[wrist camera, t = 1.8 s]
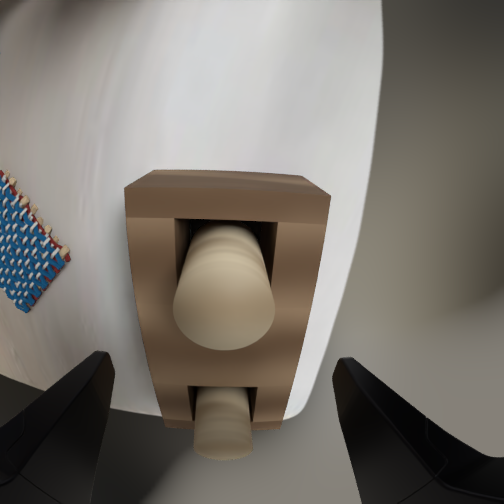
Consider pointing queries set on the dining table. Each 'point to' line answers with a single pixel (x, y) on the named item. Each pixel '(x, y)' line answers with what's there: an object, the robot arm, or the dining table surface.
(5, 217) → the woven mat
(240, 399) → the dowel far
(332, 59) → the dining table surface
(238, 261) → the dowel near
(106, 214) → the dining table surface
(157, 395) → the socket block
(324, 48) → the dining table surface
